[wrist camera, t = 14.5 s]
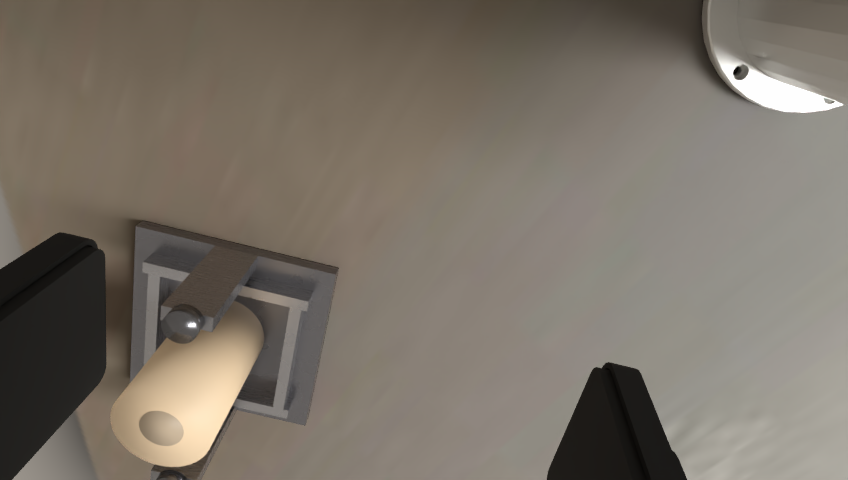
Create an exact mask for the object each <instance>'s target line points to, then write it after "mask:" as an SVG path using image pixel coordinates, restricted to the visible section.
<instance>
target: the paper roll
mask: <svg viewBox="0 0 848 480" xmlns="http://www.w3.org/2000/svg"><path fill="white" fill-rule="evenodd" d="M263 344H264V332H263V328H262V325H261V323H260V321H259V320H258V318H257V317H256V316H255V314H254V313H253V312H252V311H251V310H249V309H248V308H247V307H245V306H244V305H242V304H240V303H239V302H236V301H233V303H232V304H231V306H230V307H229V309H228V310H227V311H226V313H225V314H224V316H223V317H222V319H221V320H220V322H219V323H218V324H217V326H216V327H215V329H214V330H213V332H209V331H205V330H201V331H200V332H199V334H198V335H197V336H196V338H195V339H194V340H193V341H192V342H190V343H186V344H179V343H175V342H173V341H171V340H170V339H168V338H166V339H165V340H164V341H163V343H162V344H161V345H160V346H159V348H158V349H157V350H156V351H155V353H154V354H153V355H152V356H151V358H150V359H149V360H148V361H147V363H146V364H145V365H144V366H143V368H142V369H141V370H140V371H139V373H138V374H137V375H136V376H135V378H134V379H133V380H132V381H131V383H130V384H129V385H128V386H127V388H126V389H125V390H124V391H123V393H122V394H121V395H120V396H119V398H118V399H117V400H116V402H115V403H114V405H113V407H112V410H111V416H110V419H111V426H112V429H113V431H114V433H115V435H116V437H117V439H118V440H119V441H120V443H121V444H122V445H123V446H124V447H125V448H126V449H127V450H128V451H130V452H131V453H132V454H134V455H135V456H137V457H139V458H140V459H142V460H145V461H147V462H150V463H152V464H156V465H160V466H166V467H181V466H186V465H190V464H192V463H195V462H197V461H199V460H200V459H201V458H203V457H204V456H205V455H206V454H207V452H208V451H209V449H210V447H211V445H212V443H213V441H214V440H215V438H216V436H217V434H218V432H219V430H220V428H221V426H222V424H223V422H224V420H225V419H226V417H227V415H228V413H229V411H230V409H231V407H232V405H233V403H234V401H235V399H236V398H237V396H238V394H239V392H240V390H241V388H242V386H243V384H244V382H245V380H246V379H247V377H248V375H249V373H250V371H251V369H252V367H253V365H254V363H255V361H256V359H257V358H258V356H259V354H260V352H261V350H262V347H263Z"/></svg>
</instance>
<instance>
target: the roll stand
mask: <svg viewBox="0 0 848 480" xmlns="http://www.w3.org/2000/svg"><path fill="white" fill-rule="evenodd" d="M338 269H339V268H336V267H332V266H328V265H324V264H320V263H316V262H311V261H307V260H303V259H299V258H295V257H291V256H287V255H283V254H278V253H274V252H270V251H266V250H262V249H258V248H254V247H250V246H246V245H241V244H237V243H233V242H229V241H225V240H221V239H217V238H213V237H208V236H204V235H200V234H196V233H192V232H188V231H184V230H180V229H175V228H171V227H167V226H163V225H159V224H155V223H151V222H147V221H142V222H140V223H139V224H138V225H137V226H136V231H135V258H134V285H133V312H132V339H131V366H130V383H131V381H132V380H133V379H134V378H135V376H136V375H137V374H138V373H139V371H140V370H141V369H142V368H143V366H144V365H145V364H146V363H147V361H148V360H149V359H150V358H151V356H152V355H153V354H154V353H155V351H156V350H157V349H158V348H159V346H160V345H161V344H162V343H163V341H164V340H165V339H166V338H168V339H170V340H171V341H173V342H175V343H179V344H186V343H190V342H192V341H193V340H194V339H195V338H196V336H197V335H198V334H199V332H200V331H201V330H205V331H209V332H213V330H214V329H215V327H216V326H217V324H218V323H219V322H220V320H221V319H222V317H223V316H224V314H225V313H226V311H227V310H228V309H229V307H230V306H231V304H232V303H233V301H236V302H239V303H240V304H242V305H244V306H245V307H247V308H248V309H249V310H251V311H252V312H253V313H254V314H255V316H256V317H257V318H258V320H259V321H260V323H261V325H262V328H263V332H264V344H263V347H262V350H261V352H260V354H259V356H258V358H257V359H256V361H255V363H254V365H253V367H252V369H251V371H250V373H249V375H248V377H247V379H246V380H245V382H244V384H243V386H242V388H241V390H240V392H239V394H238V396H237V398H236V399H235V401H234V403H233V405H232V407H231V409H230V411H229V413H228V415H227V417H226V419H225V420H224V422H223V424H222V426H221V428H220V430H219V432H218V434H217V436H216V438H215V440H214V441H213V443H212V445H211V447H210V449H209V451H208V452H207V454H206V455H205V456H204V457H203V458H201V459H200V460H199V461H197V462H195V463H192V464H190V465H186V466H181V467H166V466H160V465H156V464H155V465H154V467H153V468H152V470H151V480H201V479H202V477H203V475H204V473H205V471H206V469H207V467H208V465H209V463H210V461H211V459H212V457H213V455H214V454H215V452H216V450H217V448H218V446H219V444H220V442H221V440H222V438H223V436H224V434H225V432H226V430H227V428H228V426H229V424H230V422H231V420H232V418H233V416H234V415H235V413H236V411H237V410H240V411H244V412H248V413H253V414H257V415H261V416H266V417H270V418H274V419H279V420H283V421H288V422H292V423H296V424H301V425H306V422H307V419H308V416H309V411H310V406H311V401H312V396H313V391H314V386H315V382H316V377H317V372H318V367H319V362H320V357H321V352H322V347H323V343H324V338H325V333H326V328H327V323H328V318H329V313H330V308H331V304H332V299H333V294H334V289H335V284H336V279H337V274H338Z"/></svg>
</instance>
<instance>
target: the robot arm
mask: <svg viewBox="0 0 848 480" xmlns="http://www.w3.org/2000/svg"><path fill="white" fill-rule="evenodd" d="M702 27H703V37H704V43H705V46H706V49H707V52H708V55H709V58H710V61H711V62H712V64H713V66H714V68H715V69H716V71H717V73H718V75H719V76H720V77H721V78H722V80H723V81H724V82H725V83H726V84H727V85H728V86H729V87H730V88H731V89H732V90H733V91H735V92H736V93H738V94H739V95H741V96H742V97H744V98H745V99H747V100H748V101H750V102H753V103H755V104H757V105H759V106H762V107H764V108H768V109H772V110H775V111H779V112H785V113H802V114H804V113H812V112H820V111H827V110H830V109H833V108H837V107H840V106H844V105H846V106H848V0H703V11H702ZM737 66H738V72H737V73H736V74H733V70H734V69H735V68H736V67H737ZM105 369H106V293H105V254H104V252H103V251H102V250H100V249H98V247H97V244H96V242H95V241H94V240H92V239H88V238H84V237H80V236H75V235H71V234H67V233H57V234H55V235H53V236H52V237H50V238H49V239H47V240H46V241H44V242H42V243H41V244H39V245H38V246H36V247H35V248H33V249H31V250H30V251H28V252H27V253H25V254H24V255H22V256H20V257H19V258H17V259H16V260H14V261H13V262H11V263H9V264H8V265H6V266H5V267H3V268H2V269H0V480H12V479H13V478H14V477H15V476H16V475H17V474H18V472H19V471H20V470H21V469H22V468H23V467H24V466H25V464H27V462H28V461H29V460H30V459H31V458H32V457H33V456H34V454H36V452H37V451H38V450H39V449H40V448H41V447H42V446H43V445H44V444H45V443H46V441H47V440H48V439H49V438H50V437H51V436H52V435H53V434H54V433H55V431H56V430H57V429H58V428H59V427H60V426H61V425H62V424H63V423H64V421H65V420H66V419H67V418H68V417H69V416H70V415H71V414H72V413H73V412H74V411H75V409H76V408H77V407H78V406H79V405H80V404H81V403H82V402H83V401H84V400H85V398H86V397H87V396H88V395H89V394H90V393H91V392H92V391H93V390H94V388H95V387H96V386H97V385H98V384H99V382H100V381H101V379H102V377H103V375H104V373H105ZM547 480H687V478H686V476H685V473H684V471H683V468H682V466H681V464H680V461H679V459H678V457H677V456H676V454H675V452H673V451H672V450H671V447H670V445H669V442H668V440H667V437H666V435H665V433H664V430H663V428H662V425H661V423H660V420H659V418H658V415H657V413H656V410H655V408H654V405H653V403H652V400H651V398H650V395H649V393H648V390H647V388H646V385H645V383H644V380H643V378H642V375H641V373H640V372H639V370H637V369H635V368H631V367H626V366H622V365H618V364H614V363H610V362H608V363H606V364H605V365H604V366H603V367H602V368H597V367H596V368H594V369H593V370H592V372H591V374H590V376H589V378H588V381H587V383H586V385H585V388H584V390H583V392H582V394H581V397H580V399H579V401H578V404H577V406H576V408H575V410H574V413H573V415H572V417H571V420H570V422H569V424H568V427H567V429H566V431H565V433H564V436H563V438H562V440H561V443H560V445H559V447H558V449H557V452H556V454H555V456H554V459H553V461H552V463H551V465H550V468H549V471H548V475H547Z"/></svg>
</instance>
